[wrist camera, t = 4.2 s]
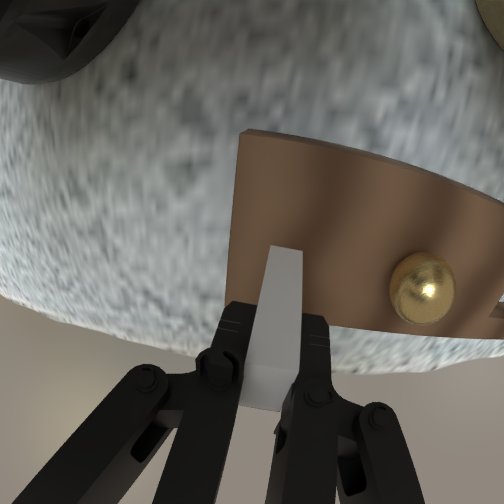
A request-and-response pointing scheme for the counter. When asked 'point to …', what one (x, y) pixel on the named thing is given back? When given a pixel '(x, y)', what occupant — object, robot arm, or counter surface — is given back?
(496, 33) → the plant pot
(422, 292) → the brass ball
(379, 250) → the board
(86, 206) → the counter surface
